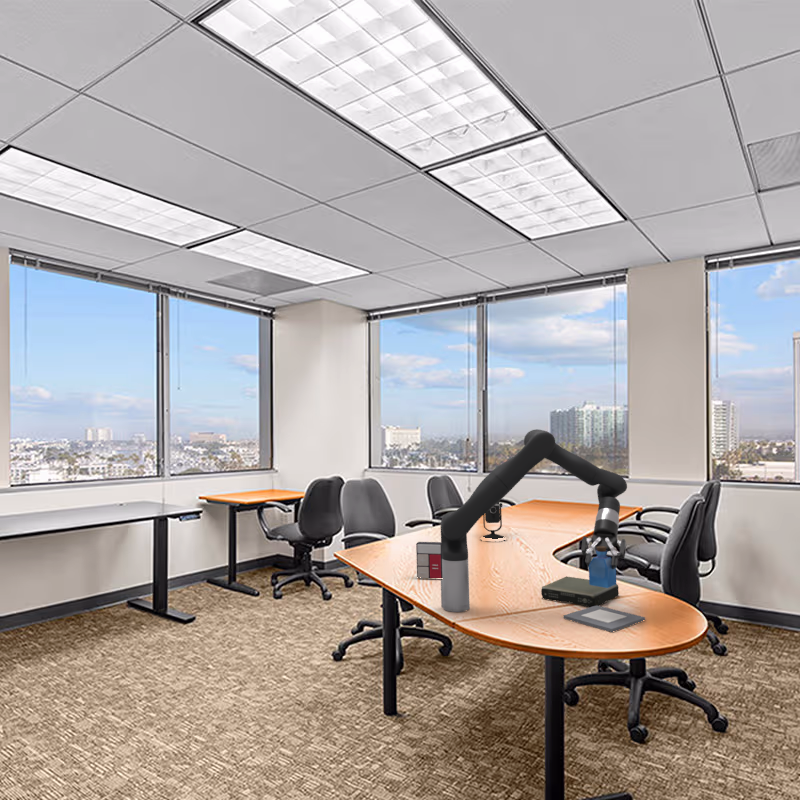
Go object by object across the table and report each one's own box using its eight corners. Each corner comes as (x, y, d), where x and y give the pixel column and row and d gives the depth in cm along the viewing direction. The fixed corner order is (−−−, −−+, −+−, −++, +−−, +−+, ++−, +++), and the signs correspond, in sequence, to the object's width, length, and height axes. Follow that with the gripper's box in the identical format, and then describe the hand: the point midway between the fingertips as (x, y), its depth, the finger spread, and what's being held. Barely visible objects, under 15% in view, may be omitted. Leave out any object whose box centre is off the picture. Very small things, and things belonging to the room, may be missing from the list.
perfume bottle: (589, 584, 193) (587, 547, 194) (598, 581, 197) (596, 544, 198) (607, 587, 189) (606, 549, 189) (616, 584, 193) (614, 546, 194)
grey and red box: (416, 579, 251) (415, 543, 252) (418, 576, 256) (417, 541, 257) (442, 580, 249) (441, 544, 250) (443, 577, 253) (443, 542, 254)
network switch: (621, 595, 222) (620, 581, 222) (604, 611, 202) (603, 596, 203) (560, 587, 235) (559, 574, 235) (538, 602, 215) (537, 587, 216)
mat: (563, 618, 194) (563, 614, 194) (596, 608, 205) (596, 604, 205) (611, 632, 180) (611, 628, 180) (645, 620, 190) (645, 616, 190)
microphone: (480, 542, 334) (479, 488, 336) (478, 537, 350) (476, 486, 352) (508, 542, 334) (507, 488, 335) (504, 537, 349) (503, 485, 351)
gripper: (583, 517, 204) (575, 557, 194) (627, 519, 197) (622, 561, 186) (587, 530, 208) (580, 571, 198) (630, 533, 201) (625, 575, 191)
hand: (600, 566), depth 192 cm, fingers closed on perfume bottle, 7 cm apart
